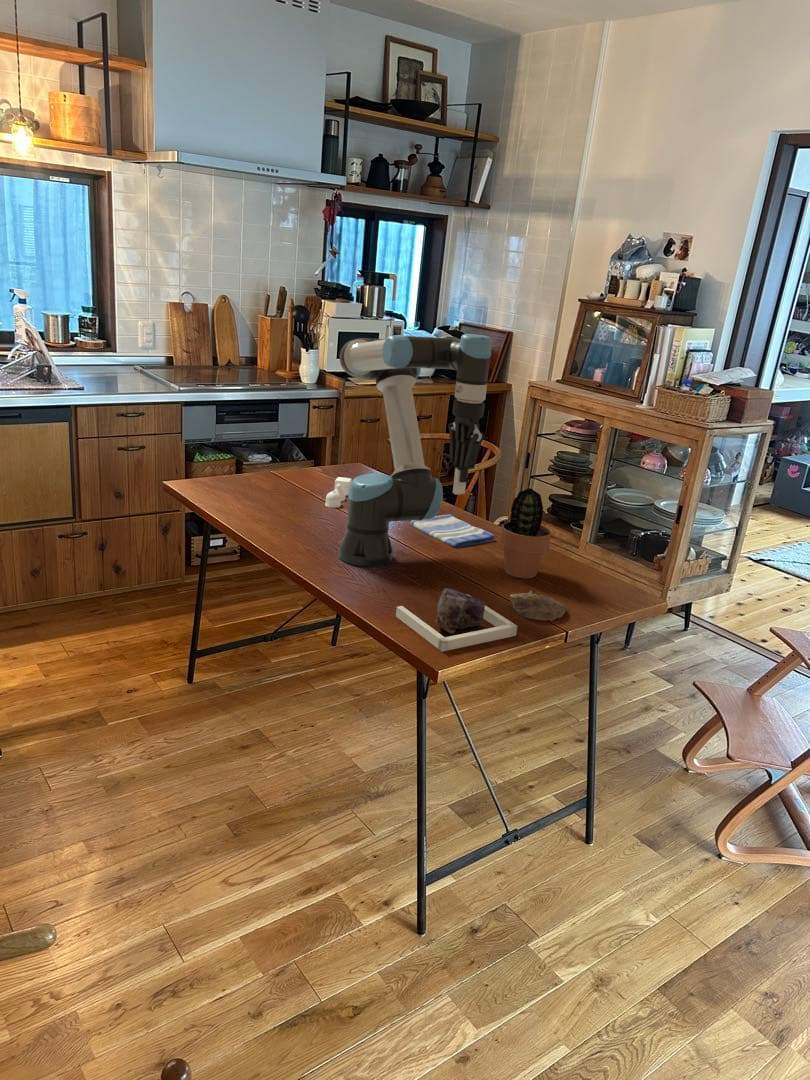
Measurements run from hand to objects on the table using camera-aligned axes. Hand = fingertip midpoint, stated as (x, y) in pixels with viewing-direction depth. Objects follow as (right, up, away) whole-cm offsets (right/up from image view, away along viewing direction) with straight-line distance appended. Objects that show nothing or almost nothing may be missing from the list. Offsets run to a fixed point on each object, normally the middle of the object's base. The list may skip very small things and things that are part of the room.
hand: (458, 493), depth 206 cm
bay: (-2, -32, -13) cm, 34 cm away
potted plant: (+19, -21, +24) cm, 37 cm away
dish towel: (+1, -10, +52) cm, 53 cm away
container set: (-37, +2, +75) cm, 84 cm away
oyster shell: (+20, -30, 0) cm, 36 cm away
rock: (-2, -32, -13) cm, 35 cm away
